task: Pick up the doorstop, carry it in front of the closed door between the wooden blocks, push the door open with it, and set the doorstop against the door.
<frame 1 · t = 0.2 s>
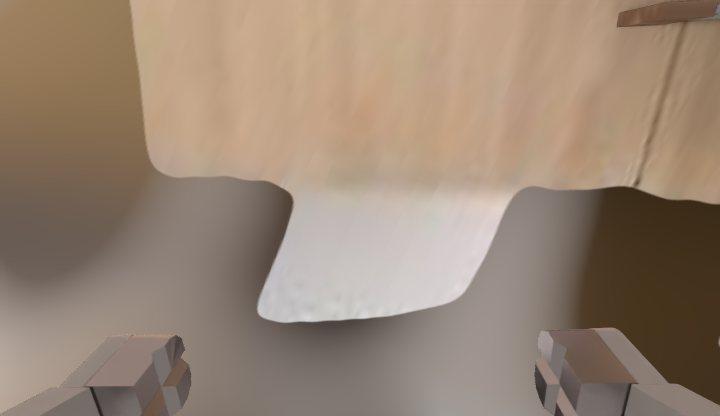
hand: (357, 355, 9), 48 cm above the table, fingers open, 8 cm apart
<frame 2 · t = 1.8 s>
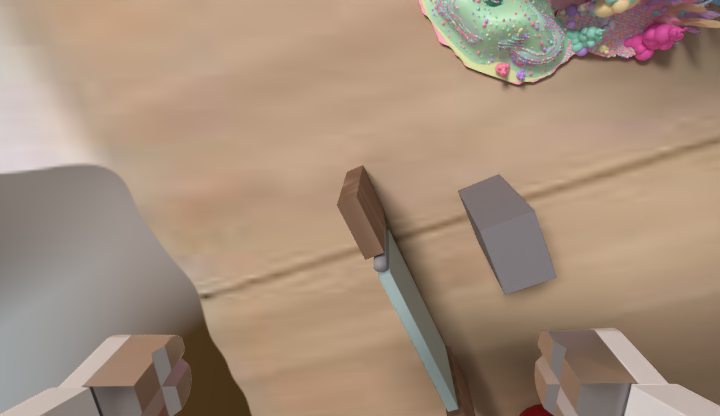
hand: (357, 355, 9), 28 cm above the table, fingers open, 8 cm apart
door: (414, 311, 37), point 4 cm above the table, hinge at 0.0°
doorstop: (488, 209, 37), on the table
wooden blocks: (411, 285, 41), on the table
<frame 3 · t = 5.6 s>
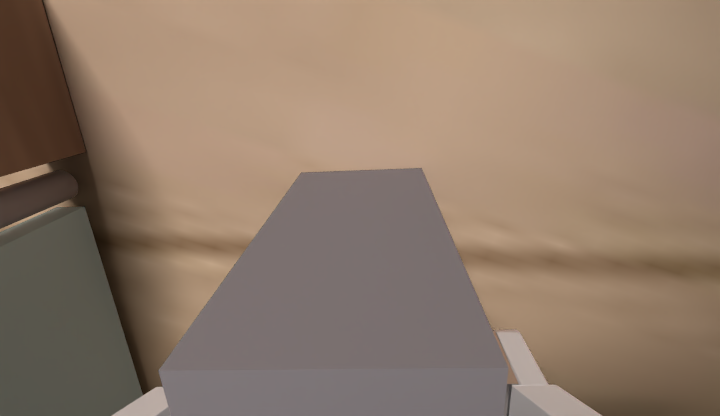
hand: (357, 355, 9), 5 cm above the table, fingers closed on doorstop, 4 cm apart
doorstop: (364, 251, 14), on the table, touching gripper
wooden blocks: (130, 366, 16), on the table
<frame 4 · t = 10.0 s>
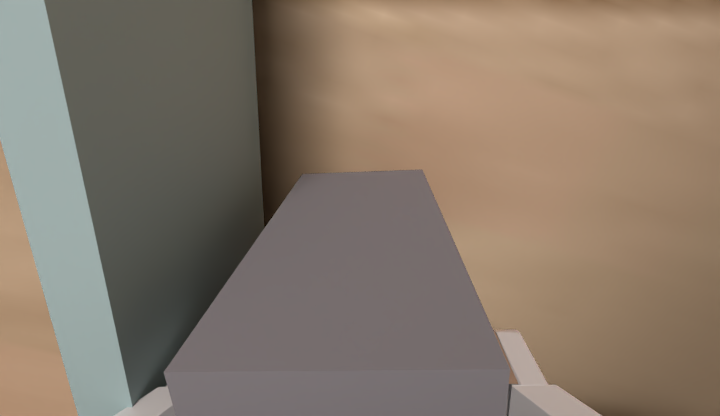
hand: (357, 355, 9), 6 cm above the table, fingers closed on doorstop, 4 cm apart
door: (195, 204, 10), point 5 cm above the table, hinge at 4.4°, touching gripper
doorstop: (365, 252, 14), point 1 cm above the table, touching gripper
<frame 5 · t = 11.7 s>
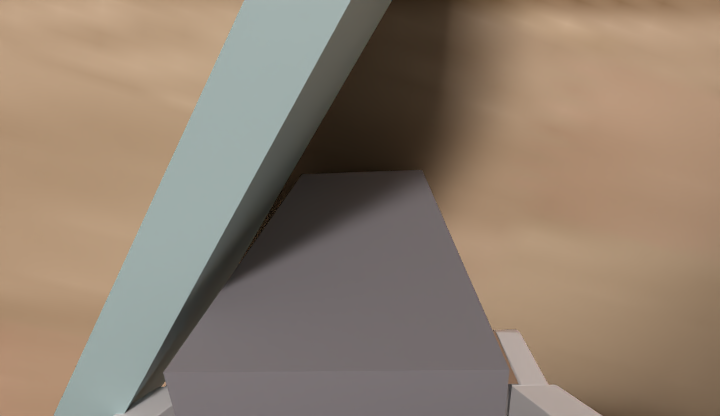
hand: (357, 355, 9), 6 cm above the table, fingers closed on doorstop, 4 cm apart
door: (258, 170, 9), point 4 cm above the table, hinge at 34.2°, touching gripper
doorstop: (365, 253, 14), point 1 cm above the table, touching gripper
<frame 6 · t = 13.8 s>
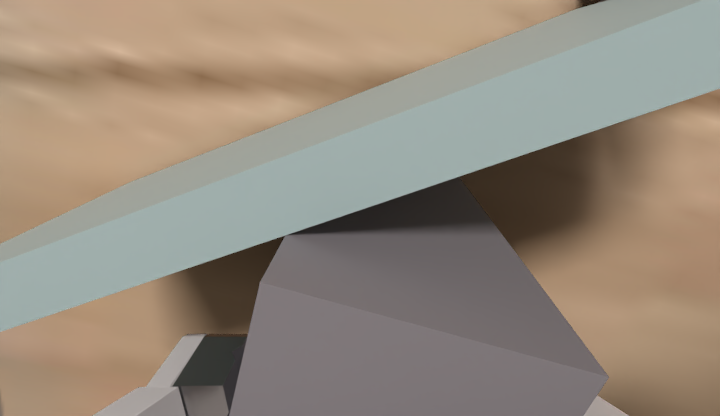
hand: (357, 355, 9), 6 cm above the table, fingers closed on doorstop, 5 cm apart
door: (347, 131, 9), point 4 cm above the table, hinge at 72.1°, touching doorstop
doorstop: (371, 235, 14), point 1 cm above the table, touching door, gripper
when the fingers open (6 cm above the table, at t = 14.0 s): doorstop stays where it is, on the table.
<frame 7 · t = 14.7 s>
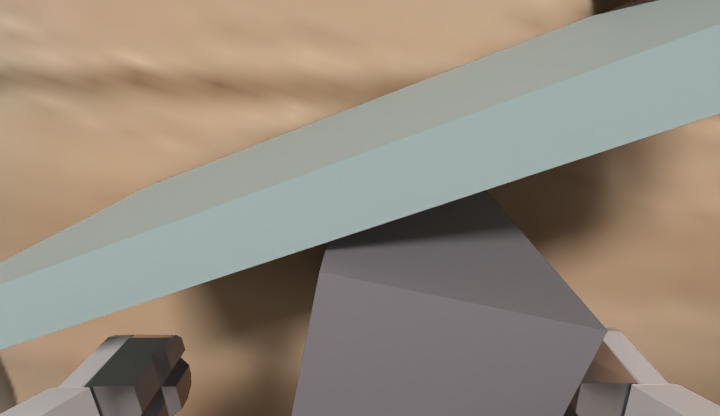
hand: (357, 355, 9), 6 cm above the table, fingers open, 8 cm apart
door: (367, 139, 9), point 5 cm above the table, hinge at 72.3°
doorstop: (391, 232, 15), on the table
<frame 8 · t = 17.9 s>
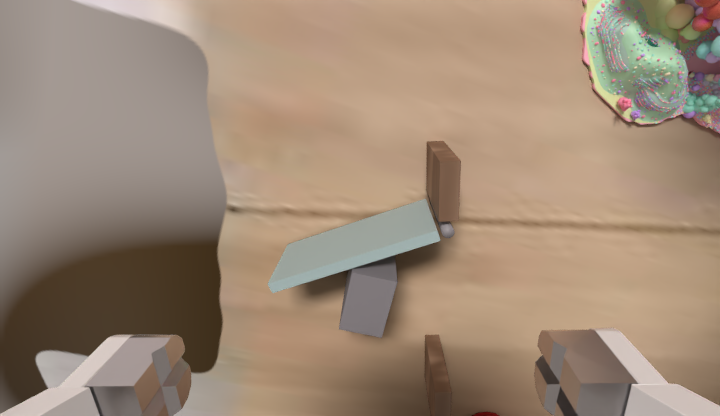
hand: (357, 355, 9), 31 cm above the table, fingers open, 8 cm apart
door: (360, 240, 37), point 4 cm above the table, hinge at 72.3°
doorstop: (369, 259, 43), on the table
wooden blocks: (433, 267, 43), on the table
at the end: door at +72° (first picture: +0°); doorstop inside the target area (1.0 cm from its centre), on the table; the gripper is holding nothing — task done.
